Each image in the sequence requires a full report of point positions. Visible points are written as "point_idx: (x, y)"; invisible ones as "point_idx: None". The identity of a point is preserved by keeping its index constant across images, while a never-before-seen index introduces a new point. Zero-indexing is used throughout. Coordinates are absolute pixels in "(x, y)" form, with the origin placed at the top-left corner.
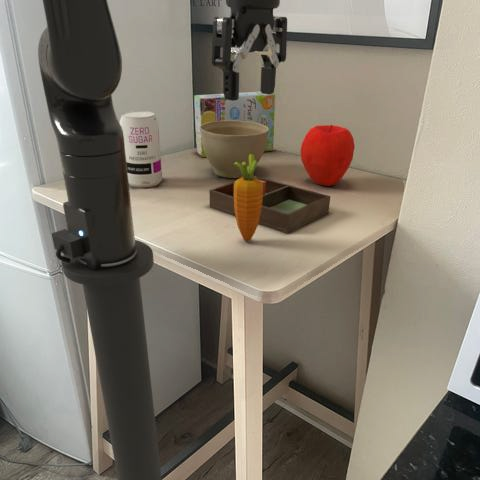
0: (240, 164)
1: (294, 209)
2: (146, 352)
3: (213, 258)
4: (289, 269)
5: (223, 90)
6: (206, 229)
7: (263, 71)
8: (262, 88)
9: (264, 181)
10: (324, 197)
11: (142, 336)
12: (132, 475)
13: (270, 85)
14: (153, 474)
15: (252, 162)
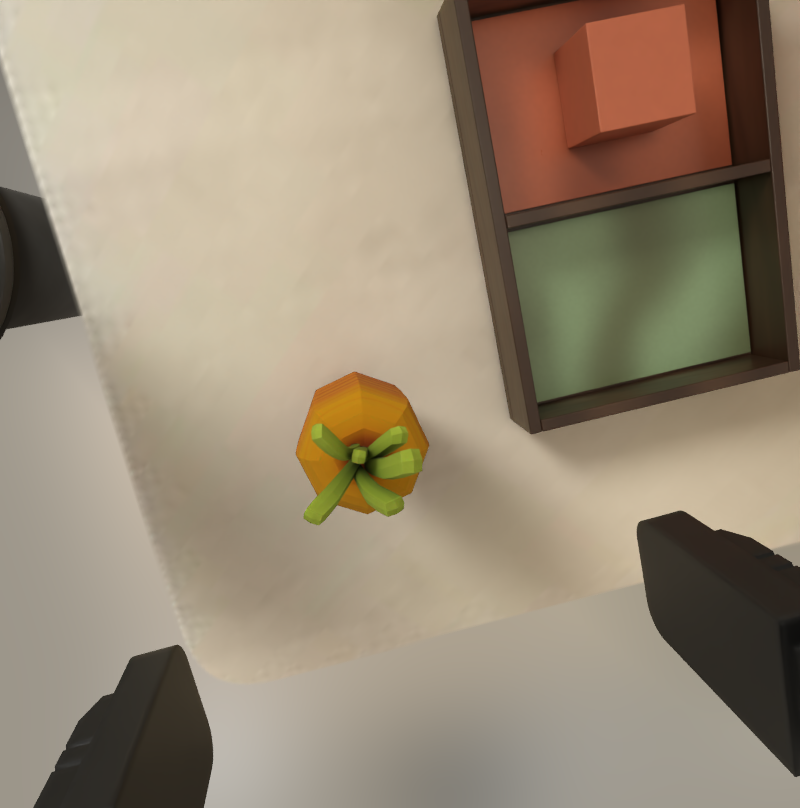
0: (336, 451)
1: (669, 286)
2: (74, 303)
3: (183, 439)
4: (340, 617)
5: (74, 734)
6: (293, 218)
7: (751, 629)
8: (655, 551)
9: (690, 108)
10: (770, 368)
11: (42, 315)
12: None
13: (689, 651)
14: None
15: (394, 478)
